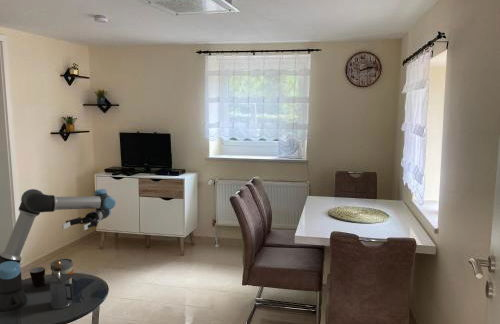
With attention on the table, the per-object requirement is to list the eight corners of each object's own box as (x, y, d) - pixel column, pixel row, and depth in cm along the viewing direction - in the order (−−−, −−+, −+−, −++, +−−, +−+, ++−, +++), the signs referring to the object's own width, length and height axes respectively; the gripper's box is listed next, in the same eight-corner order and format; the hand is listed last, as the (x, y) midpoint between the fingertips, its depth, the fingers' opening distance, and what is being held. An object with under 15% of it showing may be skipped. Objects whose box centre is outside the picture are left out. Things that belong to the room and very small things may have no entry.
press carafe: (47, 308, 228) (44, 281, 225) (59, 299, 238) (56, 273, 235) (67, 310, 225) (65, 282, 223) (79, 301, 235) (76, 274, 233)
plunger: (51, 301, 228) (47, 263, 225) (59, 294, 235) (55, 258, 232) (62, 302, 227) (59, 264, 224) (70, 295, 234) (67, 259, 231)
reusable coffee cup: (48, 287, 254) (45, 263, 252) (67, 279, 264) (65, 257, 262) (59, 292, 247) (57, 268, 245) (78, 284, 257) (76, 261, 255)
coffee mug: (40, 288, 252) (38, 273, 251) (27, 287, 254) (26, 272, 252) (52, 280, 264) (51, 265, 262) (41, 279, 265) (39, 264, 264)
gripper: (112, 224, 260) (93, 234, 240) (76, 222, 265) (54, 232, 245) (111, 212, 259) (92, 222, 239) (75, 210, 264) (53, 220, 243)
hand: (73, 227), depth 242 cm, fingers open, 13 cm apart
